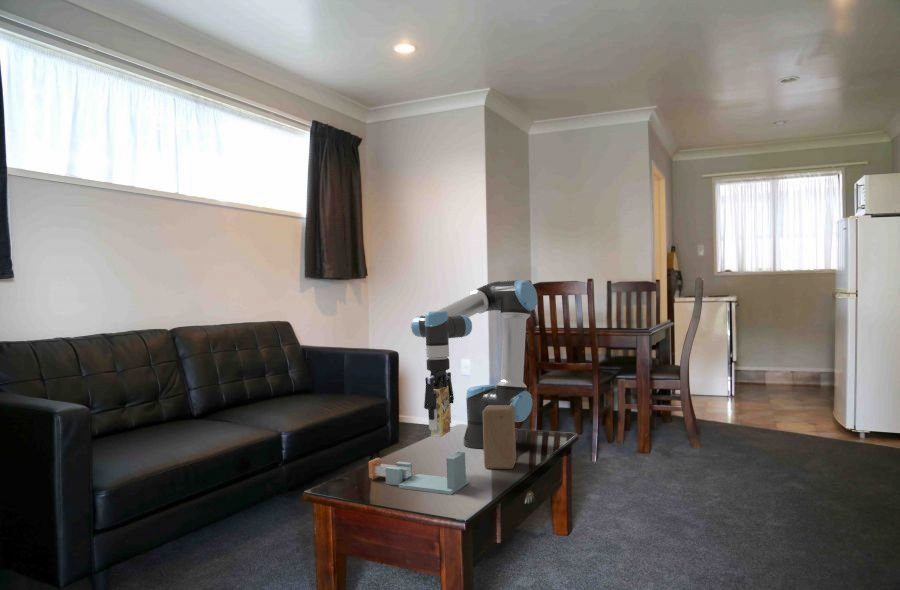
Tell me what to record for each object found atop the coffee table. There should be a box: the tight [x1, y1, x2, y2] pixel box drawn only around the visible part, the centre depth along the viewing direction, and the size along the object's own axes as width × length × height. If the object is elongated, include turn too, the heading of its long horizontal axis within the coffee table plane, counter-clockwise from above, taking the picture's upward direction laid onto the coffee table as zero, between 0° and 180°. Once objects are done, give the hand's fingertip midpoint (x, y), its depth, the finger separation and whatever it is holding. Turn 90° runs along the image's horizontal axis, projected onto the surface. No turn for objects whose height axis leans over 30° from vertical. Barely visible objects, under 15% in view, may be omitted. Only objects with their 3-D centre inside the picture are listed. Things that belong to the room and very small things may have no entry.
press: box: [385, 451, 469, 495], centre depth 188 cm, size 12×24×10 cm, turn 63°
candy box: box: [430, 386, 451, 438], centre depth 198 cm, size 9×4×15 cm, turn 162°
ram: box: [368, 457, 411, 480], centre depth 194 cm, size 5×13×5 cm, turn 63°
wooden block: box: [483, 405, 517, 470], centre depth 207 cm, size 10×10×20 cm
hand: (440, 426), depth 198 cm, fingers closed on candy box, 9 cm apart
